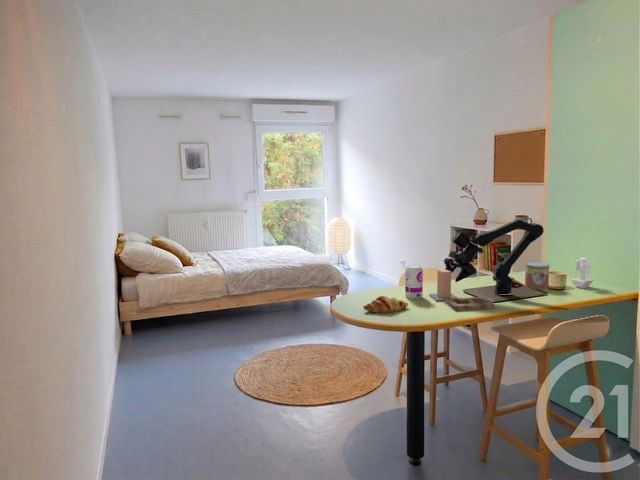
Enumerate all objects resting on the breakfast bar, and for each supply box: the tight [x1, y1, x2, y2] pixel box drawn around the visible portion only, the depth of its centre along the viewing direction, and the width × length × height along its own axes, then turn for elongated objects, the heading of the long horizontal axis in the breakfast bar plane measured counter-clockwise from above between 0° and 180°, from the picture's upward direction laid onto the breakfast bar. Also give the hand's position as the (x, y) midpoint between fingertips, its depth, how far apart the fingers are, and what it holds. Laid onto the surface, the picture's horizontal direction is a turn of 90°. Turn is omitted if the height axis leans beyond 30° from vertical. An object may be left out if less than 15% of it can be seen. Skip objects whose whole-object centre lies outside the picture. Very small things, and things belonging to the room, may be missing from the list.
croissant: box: [363, 295, 409, 314], centre depth 218 cm, size 21×10×8 cm, turn 107°
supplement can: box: [404, 264, 424, 300], centre depth 238 cm, size 8×8×15 cm
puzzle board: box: [444, 296, 495, 311], centre depth 222 cm, size 18×12×2 cm
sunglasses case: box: [492, 275, 524, 287], centre depth 263 cm, size 18×7×7 cm
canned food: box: [524, 261, 550, 291], centre depth 252 cm, size 11×11×12 cm
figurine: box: [570, 257, 594, 289], centre depth 250 cm, size 7×9×15 cm
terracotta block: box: [436, 269, 452, 298], centre depth 235 cm, size 4×4×12 cm
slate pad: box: [428, 292, 458, 302], centre depth 236 cm, size 11×11×1 cm
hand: (449, 279), depth 236 cm, fingers open, 9 cm apart
